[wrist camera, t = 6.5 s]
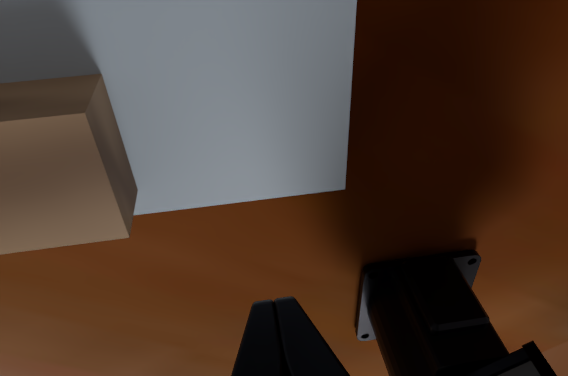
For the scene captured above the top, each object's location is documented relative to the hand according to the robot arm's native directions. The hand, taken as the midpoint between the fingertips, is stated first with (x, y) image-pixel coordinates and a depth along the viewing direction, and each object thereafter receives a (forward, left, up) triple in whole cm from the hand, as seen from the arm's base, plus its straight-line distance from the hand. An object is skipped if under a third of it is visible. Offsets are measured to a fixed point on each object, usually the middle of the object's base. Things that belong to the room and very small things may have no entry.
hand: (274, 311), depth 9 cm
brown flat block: (0, +6, -8) cm, 10 cm away
